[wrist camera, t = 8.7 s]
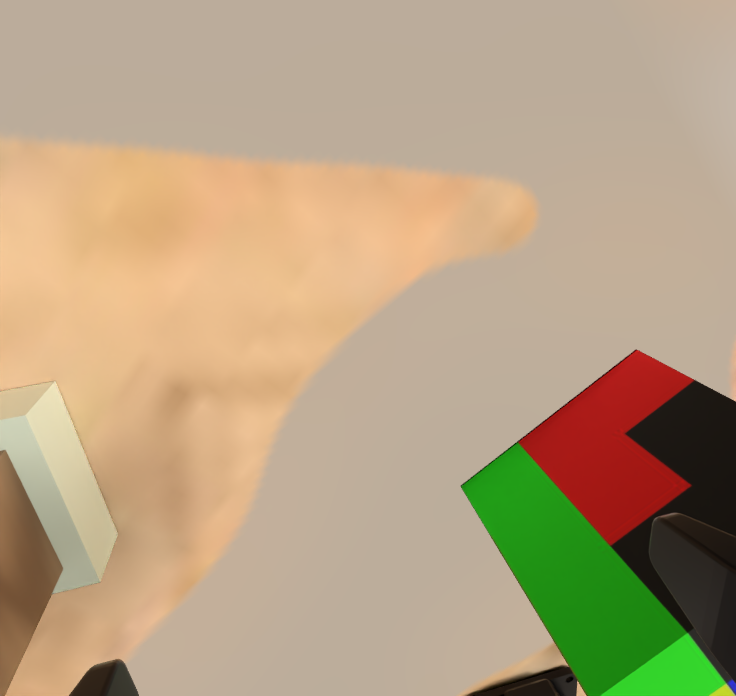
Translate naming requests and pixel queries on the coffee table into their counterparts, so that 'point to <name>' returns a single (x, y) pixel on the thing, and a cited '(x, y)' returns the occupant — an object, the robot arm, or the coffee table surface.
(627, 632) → the puzzle toy
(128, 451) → the coffee table surface
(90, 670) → the robot arm
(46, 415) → the pale green block
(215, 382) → the coffee table surface
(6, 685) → the walnut cube
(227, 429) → the coffee table surface
